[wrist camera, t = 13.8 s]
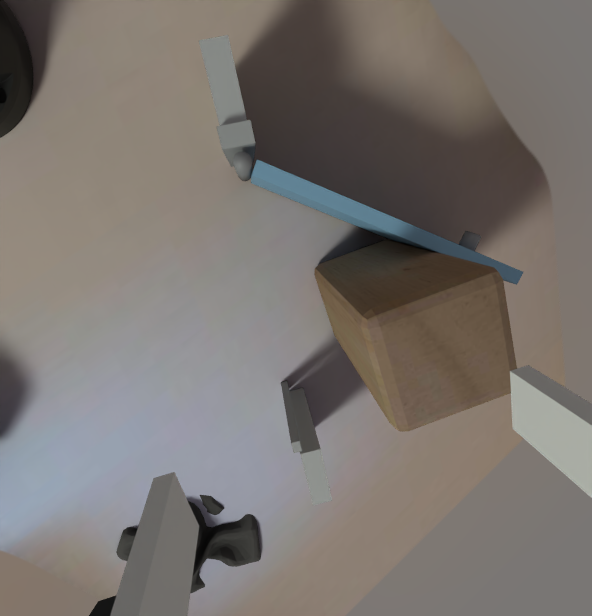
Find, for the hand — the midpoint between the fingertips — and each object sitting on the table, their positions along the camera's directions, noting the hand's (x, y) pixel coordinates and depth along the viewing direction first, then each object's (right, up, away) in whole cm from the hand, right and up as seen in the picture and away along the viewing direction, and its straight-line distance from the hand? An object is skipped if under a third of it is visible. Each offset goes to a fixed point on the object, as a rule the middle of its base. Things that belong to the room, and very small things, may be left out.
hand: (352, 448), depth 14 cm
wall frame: (-5, +8, +28) cm, 30 cm away
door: (+5, +16, +26) cm, 31 cm away
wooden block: (+6, +8, +30) cm, 31 cm away
